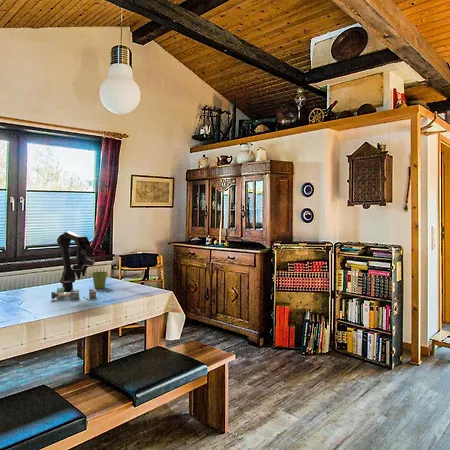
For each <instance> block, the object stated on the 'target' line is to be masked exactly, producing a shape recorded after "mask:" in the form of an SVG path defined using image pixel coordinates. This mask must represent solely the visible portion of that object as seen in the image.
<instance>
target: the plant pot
mask: <svg viewBox="0 0 450 450" xmlns="http://www.w3.org/2000/svg"><path fill="white" fill-rule="evenodd" d="M107 275H108V271H93V272H91V276H92V279H93V286H94V289H103V288H105V287H106V280H107Z"/></svg>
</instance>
